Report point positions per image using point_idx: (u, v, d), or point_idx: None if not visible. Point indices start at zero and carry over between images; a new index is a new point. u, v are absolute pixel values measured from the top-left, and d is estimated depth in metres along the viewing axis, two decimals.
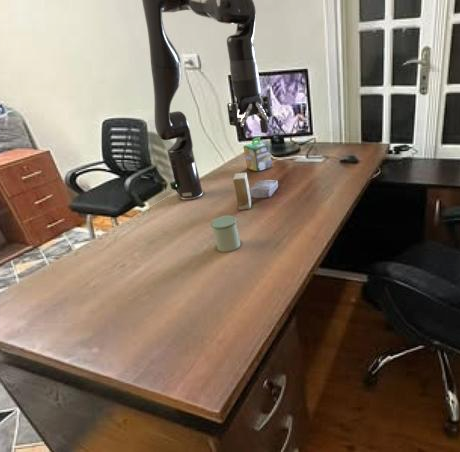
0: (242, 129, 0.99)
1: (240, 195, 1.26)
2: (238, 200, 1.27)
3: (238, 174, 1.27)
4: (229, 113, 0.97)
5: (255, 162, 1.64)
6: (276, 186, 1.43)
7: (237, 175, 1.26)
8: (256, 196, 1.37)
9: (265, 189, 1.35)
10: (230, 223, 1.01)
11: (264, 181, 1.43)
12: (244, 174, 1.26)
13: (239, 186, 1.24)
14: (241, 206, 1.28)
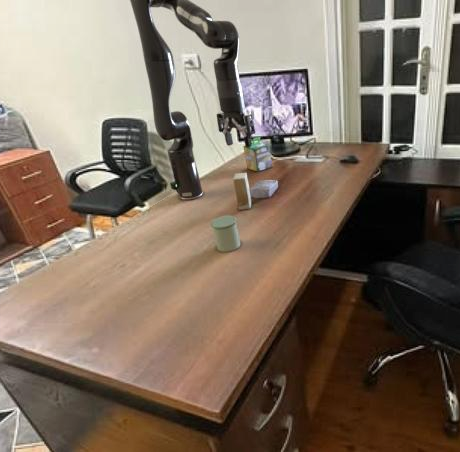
0: (225, 136, 1.17)
1: (240, 195, 1.26)
2: (238, 200, 1.27)
3: (238, 174, 1.27)
4: None
5: (255, 162, 1.64)
6: (276, 186, 1.43)
7: (237, 175, 1.26)
8: (256, 196, 1.37)
9: (265, 189, 1.35)
10: (230, 223, 1.01)
11: (264, 181, 1.43)
12: (244, 174, 1.26)
13: (239, 186, 1.24)
14: (241, 206, 1.28)
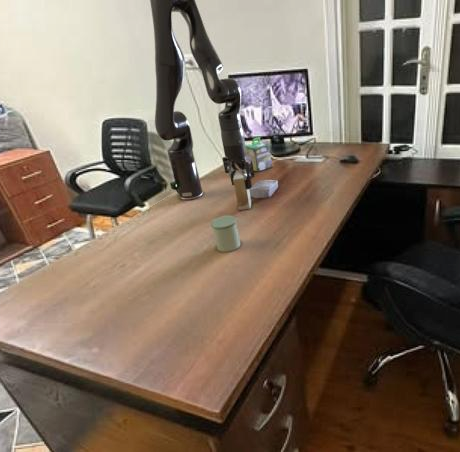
0: (231, 177, 1.28)
1: (240, 195, 1.26)
2: (238, 200, 1.27)
3: (238, 174, 1.27)
4: None
5: (255, 162, 1.64)
6: (276, 186, 1.43)
7: (237, 175, 1.26)
8: (256, 196, 1.37)
9: (265, 189, 1.35)
10: (230, 223, 1.01)
11: (264, 181, 1.43)
12: None
13: (239, 186, 1.24)
14: (241, 206, 1.28)
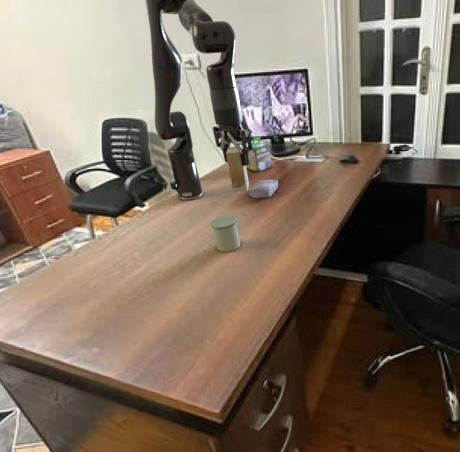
0: None
1: (235, 173, 1.02)
2: (232, 180, 1.03)
3: (233, 147, 1.03)
4: None
5: (255, 162, 1.64)
6: (276, 186, 1.43)
7: (231, 149, 1.02)
8: (256, 196, 1.37)
9: (265, 189, 1.35)
10: (230, 223, 1.01)
11: (264, 181, 1.43)
12: None
13: (233, 162, 1.00)
14: (236, 188, 1.04)
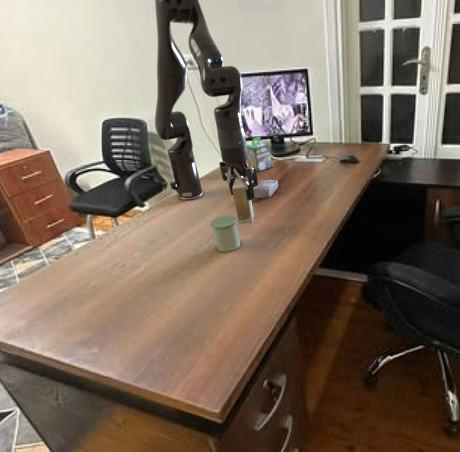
0: None
1: (241, 207, 1.05)
2: (238, 213, 1.06)
3: (238, 181, 1.07)
4: None
5: (255, 162, 1.64)
6: (276, 186, 1.43)
7: (237, 183, 1.05)
8: (256, 196, 1.37)
9: (265, 189, 1.35)
10: (230, 223, 1.01)
11: (264, 181, 1.43)
12: None
13: (239, 197, 1.04)
14: (242, 220, 1.08)
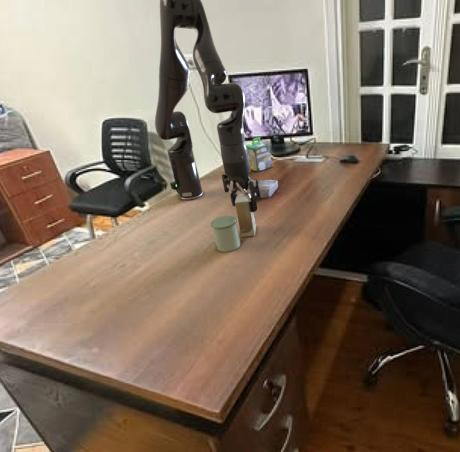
0: (231, 197, 1.09)
1: (244, 220, 1.08)
2: (240, 226, 1.09)
3: (241, 195, 1.09)
4: None
5: (255, 162, 1.64)
6: (276, 186, 1.43)
7: (239, 197, 1.08)
8: None
9: (265, 189, 1.35)
10: (230, 223, 1.01)
11: (264, 181, 1.43)
12: None
13: (242, 210, 1.06)
14: (244, 233, 1.10)
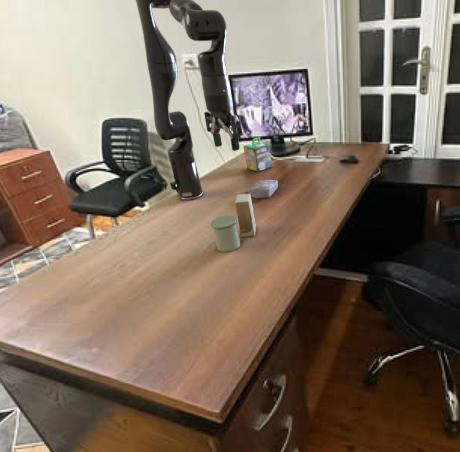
0: None
1: (244, 220, 1.08)
2: (240, 226, 1.09)
3: (241, 195, 1.09)
4: None
5: (255, 162, 1.64)
6: (276, 186, 1.43)
7: (239, 197, 1.08)
8: (256, 196, 1.37)
9: (265, 189, 1.35)
10: (230, 223, 1.01)
11: (264, 181, 1.43)
12: (248, 196, 1.08)
13: (242, 210, 1.06)
14: (244, 233, 1.10)
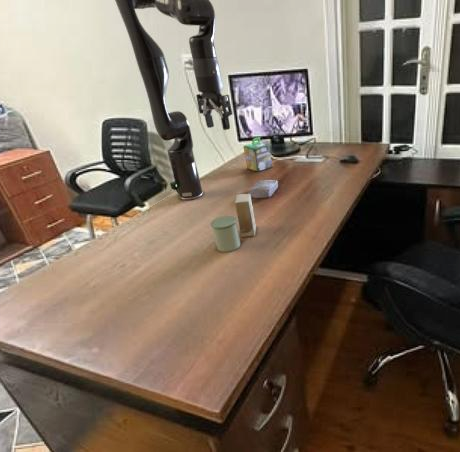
0: None
1: (244, 220, 1.08)
2: (240, 226, 1.09)
3: (241, 195, 1.09)
4: None
5: (255, 162, 1.64)
6: (276, 186, 1.43)
7: (239, 197, 1.08)
8: (256, 196, 1.37)
9: (265, 189, 1.35)
10: (230, 223, 1.01)
11: (264, 181, 1.43)
12: (248, 196, 1.08)
13: (242, 210, 1.06)
14: (244, 233, 1.10)
